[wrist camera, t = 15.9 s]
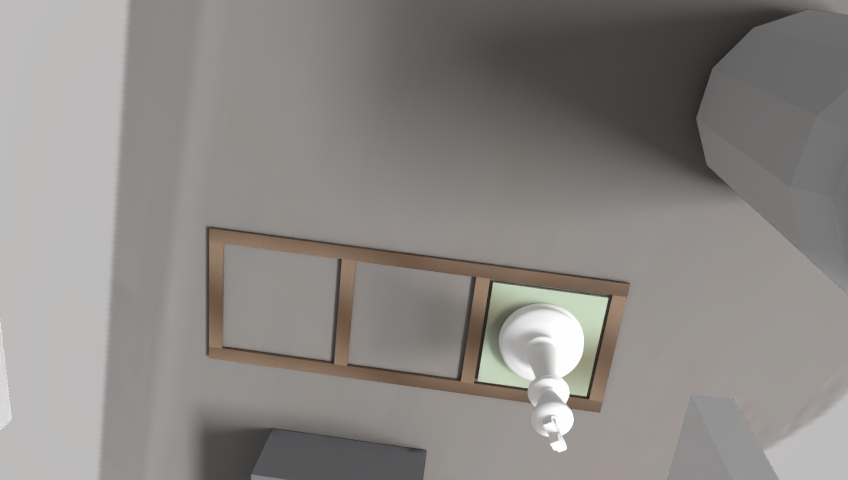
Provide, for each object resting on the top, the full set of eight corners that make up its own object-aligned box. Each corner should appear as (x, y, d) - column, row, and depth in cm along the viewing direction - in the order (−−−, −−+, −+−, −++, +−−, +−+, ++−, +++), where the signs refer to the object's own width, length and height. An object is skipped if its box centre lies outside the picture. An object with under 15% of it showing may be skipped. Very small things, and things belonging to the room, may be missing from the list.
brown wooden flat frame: (210, 227, 42) (209, 228, 42) (629, 282, 41) (629, 284, 41) (210, 356, 45) (208, 357, 45) (599, 410, 44) (599, 412, 44)
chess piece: (520, 389, 44) (530, 503, 34) (484, 323, 42) (483, 423, 33) (597, 358, 43) (628, 467, 33) (562, 289, 41) (584, 383, 32)
